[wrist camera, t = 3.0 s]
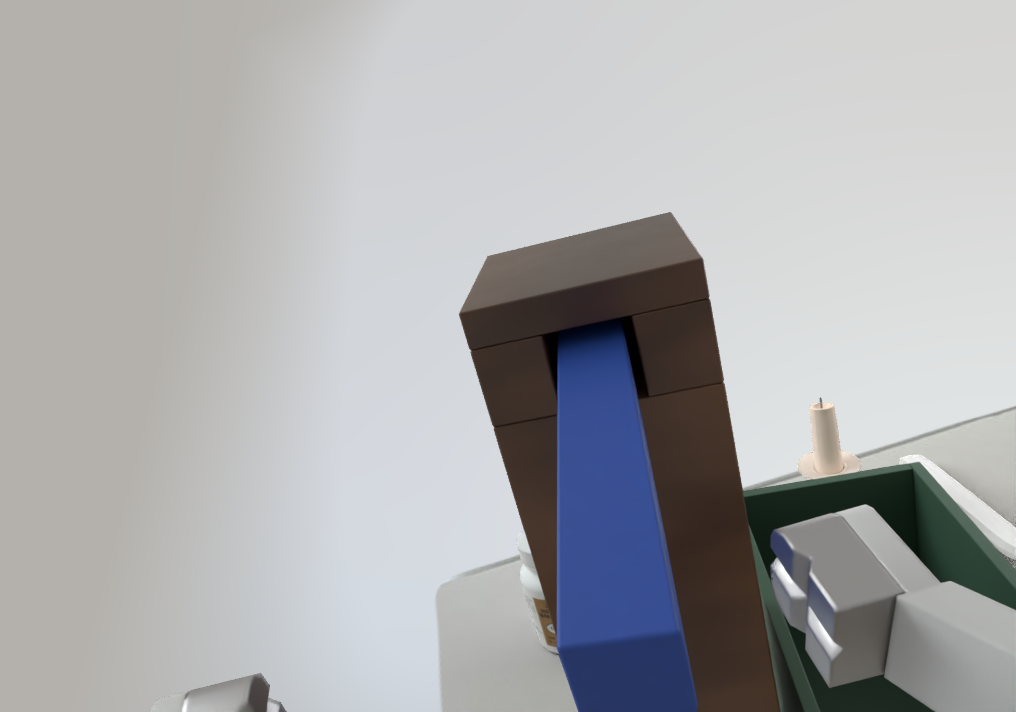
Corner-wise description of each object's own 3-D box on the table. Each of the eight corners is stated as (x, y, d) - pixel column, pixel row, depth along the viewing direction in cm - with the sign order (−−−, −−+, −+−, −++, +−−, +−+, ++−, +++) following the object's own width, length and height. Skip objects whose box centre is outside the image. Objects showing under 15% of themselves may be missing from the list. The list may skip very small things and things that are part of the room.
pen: (1030, 586, 40) (1029, 563, 40) (893, 467, 53) (891, 449, 53) (1057, 580, 40) (1057, 556, 40) (913, 462, 53) (912, 443, 53)
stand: (642, 924, 30) (458, 313, 20) (630, 772, 36) (487, 255, 27) (815, 913, 28) (703, 257, 19) (770, 758, 35) (671, 211, 26)
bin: (884, 1060, 24) (859, 871, 21) (750, 629, 43) (725, 493, 39) (1227, 1051, 22) (1258, 841, 19) (929, 605, 41) (919, 460, 38)
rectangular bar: (582, 728, 12) (555, 649, 11) (569, 330, 26) (557, 281, 25) (699, 714, 12) (681, 632, 11) (622, 318, 26) (611, 268, 25)
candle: (791, 512, 52) (772, 386, 48) (868, 505, 50) (855, 374, 47) (802, 558, 47) (783, 422, 44) (888, 552, 46) (875, 410, 42)
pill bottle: (556, 668, 44) (525, 568, 41) (528, 627, 48) (498, 534, 45) (616, 635, 45) (590, 536, 42) (584, 598, 49) (558, 505, 46)
